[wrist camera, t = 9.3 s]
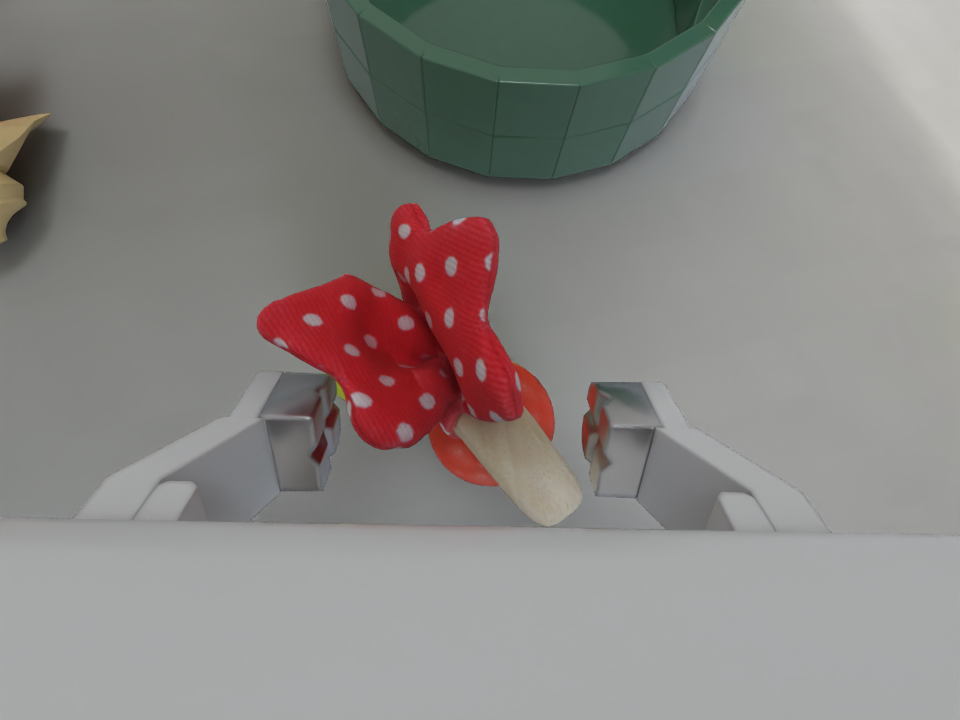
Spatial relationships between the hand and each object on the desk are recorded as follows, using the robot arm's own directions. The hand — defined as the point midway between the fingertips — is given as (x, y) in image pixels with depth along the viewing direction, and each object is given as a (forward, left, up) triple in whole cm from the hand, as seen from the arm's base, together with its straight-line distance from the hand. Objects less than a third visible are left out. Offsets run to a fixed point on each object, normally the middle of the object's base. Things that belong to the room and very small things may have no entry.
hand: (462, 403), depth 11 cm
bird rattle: (+1, 0, -8) cm, 8 cm away
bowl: (+17, -2, -7) cm, 19 cm away
